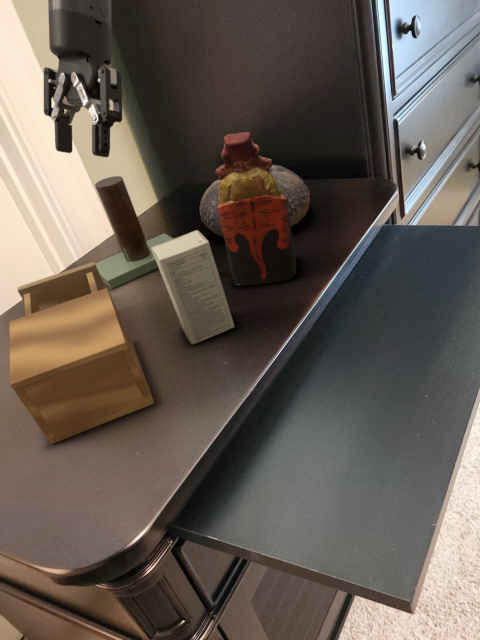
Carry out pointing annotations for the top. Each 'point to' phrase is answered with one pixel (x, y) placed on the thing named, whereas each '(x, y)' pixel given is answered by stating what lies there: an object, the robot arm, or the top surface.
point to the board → (128, 265)
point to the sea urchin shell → (286, 182)
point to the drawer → (61, 288)
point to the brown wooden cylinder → (123, 218)
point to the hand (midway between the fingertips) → (81, 154)
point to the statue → (253, 215)
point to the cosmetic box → (194, 286)
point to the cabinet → (76, 366)
